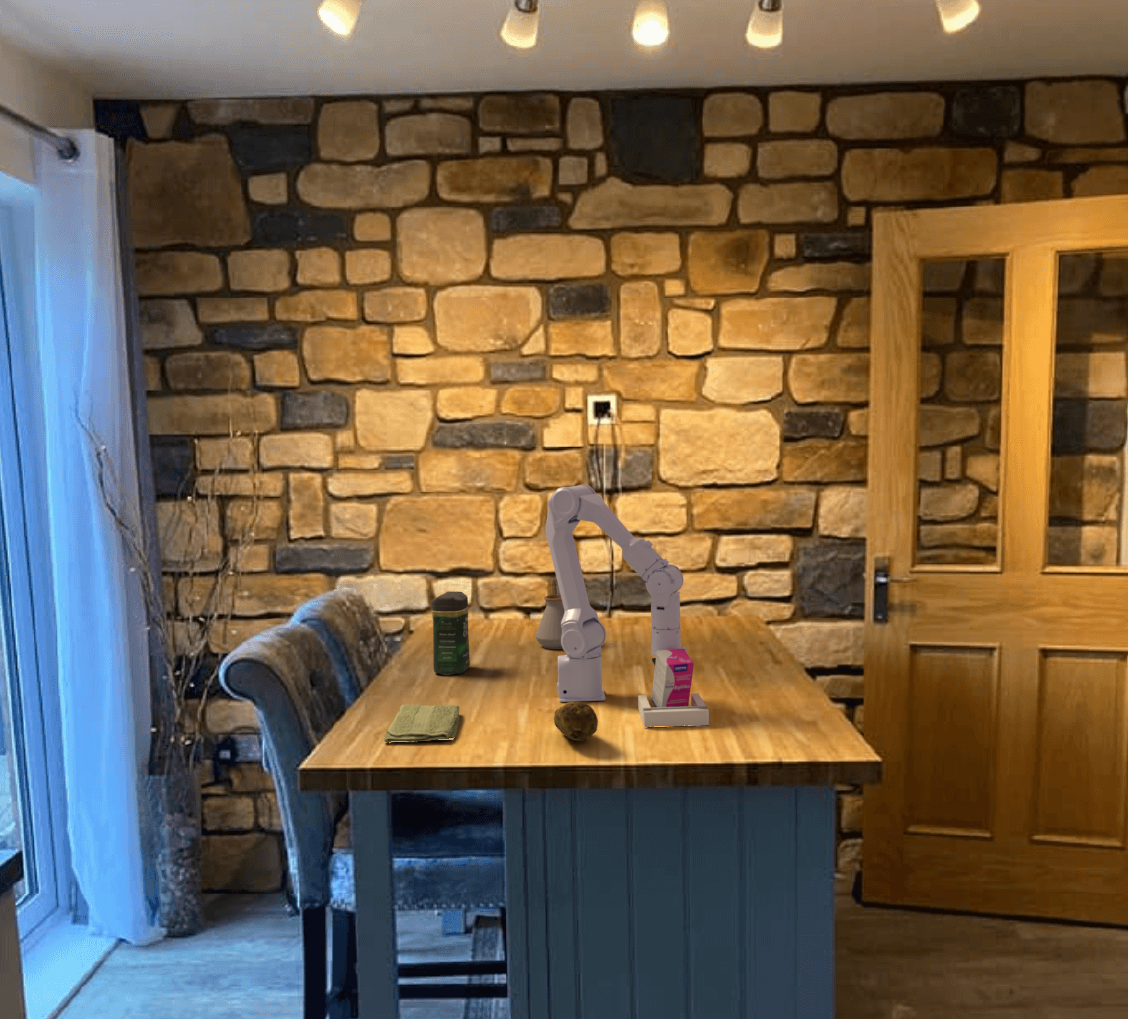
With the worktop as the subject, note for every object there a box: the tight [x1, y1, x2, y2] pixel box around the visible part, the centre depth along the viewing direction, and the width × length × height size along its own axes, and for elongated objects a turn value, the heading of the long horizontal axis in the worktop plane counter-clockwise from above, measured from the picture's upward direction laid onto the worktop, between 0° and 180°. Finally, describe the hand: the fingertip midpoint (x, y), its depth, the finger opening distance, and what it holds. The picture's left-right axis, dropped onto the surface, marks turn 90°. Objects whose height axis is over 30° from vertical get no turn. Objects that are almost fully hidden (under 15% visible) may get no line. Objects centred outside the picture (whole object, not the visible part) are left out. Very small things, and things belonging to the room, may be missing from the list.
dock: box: [637, 692, 710, 727], centre depth 179 cm, size 12×11×3 cm
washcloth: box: [383, 704, 460, 743], centre depth 177 cm, size 13×18×3 cm
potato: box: [553, 701, 599, 742], centre depth 167 cm, size 8×13×8 cm, turn 176°
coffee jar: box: [431, 591, 471, 676], centre depth 219 cm, size 10×8×19 cm
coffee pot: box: [534, 579, 565, 650], centre depth 246 cm, size 21×12×15 cm, turn 3°
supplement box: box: [650, 649, 695, 707], centre depth 182 cm, size 6×6×12 cm
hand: (667, 693), depth 187 cm, fingers closed
